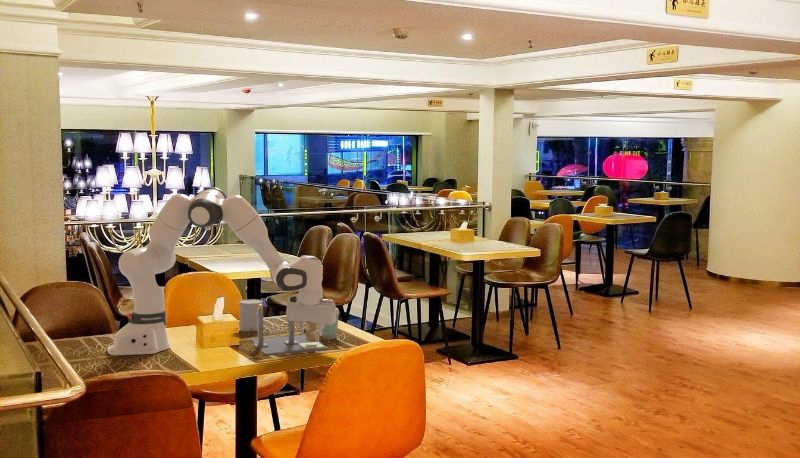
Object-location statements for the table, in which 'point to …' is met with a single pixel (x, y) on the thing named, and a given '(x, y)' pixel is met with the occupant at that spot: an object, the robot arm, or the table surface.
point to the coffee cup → (331, 329)
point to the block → (311, 332)
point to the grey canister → (249, 314)
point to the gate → (260, 330)
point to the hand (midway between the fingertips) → (311, 333)
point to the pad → (311, 345)
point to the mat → (285, 345)
